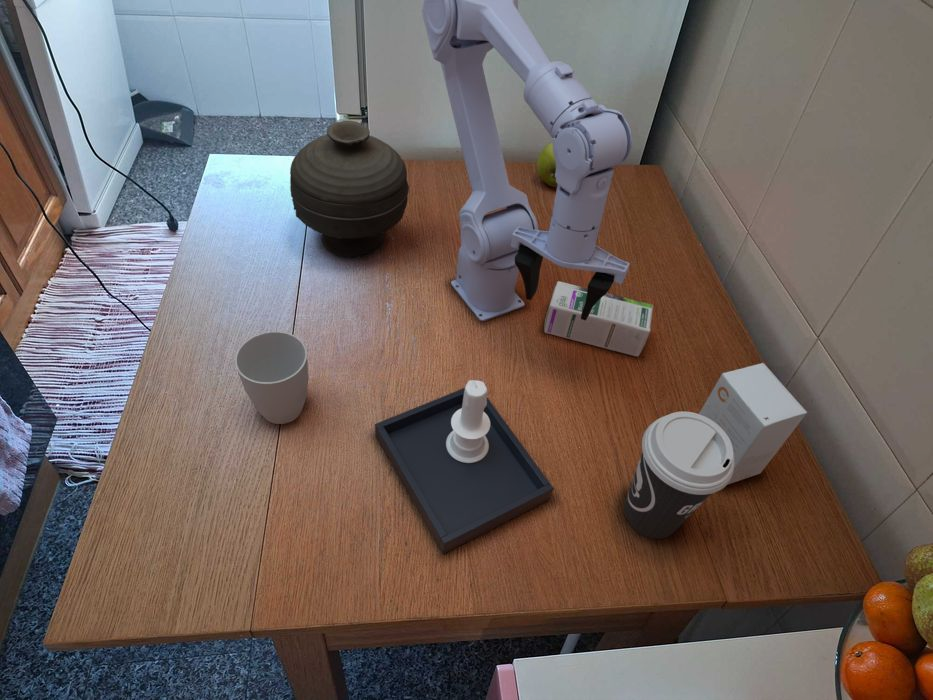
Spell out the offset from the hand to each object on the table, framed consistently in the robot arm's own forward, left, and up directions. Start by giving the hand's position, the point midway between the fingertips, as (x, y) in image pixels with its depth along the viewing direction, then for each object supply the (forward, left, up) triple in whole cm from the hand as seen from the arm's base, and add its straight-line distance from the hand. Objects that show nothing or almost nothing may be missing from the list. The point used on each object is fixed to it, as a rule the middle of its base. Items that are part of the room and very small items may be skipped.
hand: (558, 305), depth 85 cm
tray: (+10, -20, -10) cm, 24 cm away
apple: (-36, +27, -11) cm, 46 cm away
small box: (+24, +11, -11) cm, 29 cm away
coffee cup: (+26, -3, -11) cm, 28 cm away
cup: (-8, -36, -11) cm, 38 cm away
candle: (+8, -18, -10) cm, 22 cm away
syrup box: (+4, +15, -8) cm, 17 cm away
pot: (-36, -14, -11) cm, 40 cm away
